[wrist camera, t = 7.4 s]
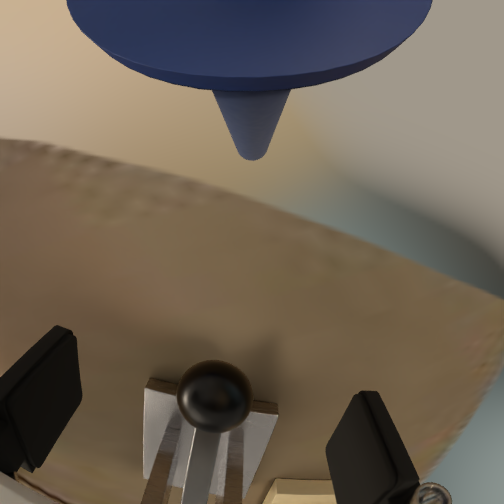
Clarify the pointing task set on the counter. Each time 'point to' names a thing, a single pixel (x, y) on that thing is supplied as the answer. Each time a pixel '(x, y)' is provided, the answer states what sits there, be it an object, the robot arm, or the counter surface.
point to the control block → (301, 492)
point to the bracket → (180, 440)
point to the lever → (210, 418)
